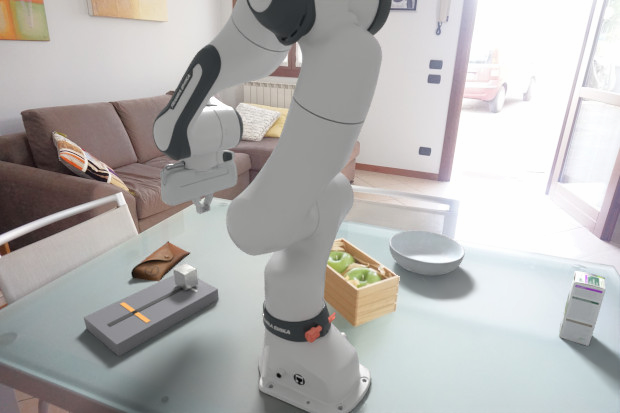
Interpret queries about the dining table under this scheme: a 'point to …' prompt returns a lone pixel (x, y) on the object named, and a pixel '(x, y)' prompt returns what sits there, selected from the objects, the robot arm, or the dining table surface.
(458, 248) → the serving bowl
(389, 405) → the dining table surface
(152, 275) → the sunglasses case
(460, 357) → the dining table surface
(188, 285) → the fader tab
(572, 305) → the syrup box
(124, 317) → the fader console
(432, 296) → the dining table surface
